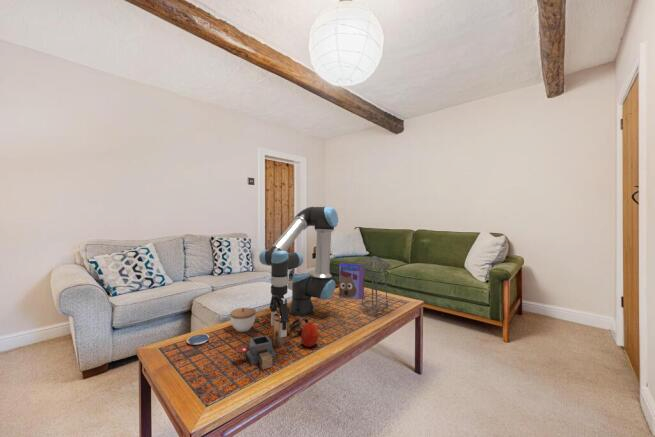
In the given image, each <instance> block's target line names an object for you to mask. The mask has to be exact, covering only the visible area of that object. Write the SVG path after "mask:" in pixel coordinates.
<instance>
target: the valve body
mask: <svg viewBox="0 0 655 437" xmlns="http://www.w3.org/2000/svg"><path fill="white" fill-rule="evenodd" d="M236 353H238V354H245V353H246V357H247V359H248V361H249V362H250V365H251V366H255V365H258V364H259V366H260V368H261V370H262V371H264V370H266V369H271V368H273V361H275V360H276V359H277V357H276V355H277V353H276V350H275V349H274V347H273V341H272V340H271V338H270V336H268V334H265V335H262V336H261V335H259V336H256V337H251V338H249V345H247V344H243V345H239V346H237V347H236Z"/></svg>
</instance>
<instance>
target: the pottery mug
mask: <svg viewBox="0 0 655 437" xmlns="http://www.w3.org/2000/svg"><path fill="white" fill-rule="evenodd" d="M308 322H309V319H308V317H303V318H296V319H294V320H293V321H292V322H291V323H290V324H289V326H288V328H289V332H290V333H291V332H294V333H296V329H298V330H302V328H303V327H304V325H305V324H306V323H308Z"/></svg>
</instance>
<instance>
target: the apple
mask: <svg viewBox="0 0 655 437" xmlns="http://www.w3.org/2000/svg"><path fill="white" fill-rule="evenodd" d="M319 334H320V333H319V331H318V328H317V326H316V324H315V323H313V322H309V321H308V323H306V324H305V325H304V327H303V326H302V328H301V334H300V337H301V342H302V345H304V346H305V347H307V348H310V347H313V346H315V344H316V343H317V341H318V340H319V336H320V335H319Z"/></svg>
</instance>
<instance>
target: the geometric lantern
mask: <svg viewBox="0 0 655 437" xmlns="http://www.w3.org/2000/svg"><path fill="white" fill-rule="evenodd" d="M362 265H364V266H362ZM358 266H359V267H360V268H361V267H363V268H364V270H363V269H362V268H361V269H362V270H363V271H364V276H363V290H362V299H361V306H363V307H364V308H365V309H366V310H365V312H366V313H367V314H370V315H373V316H379V315H383V314H385V309H386V308H387V309H388V307H389V303H388V289H387V276H386V273H385V271H387V270H388V269H389V268H390V267H391V266H392V264H390V263H388V262H387V261H385V260H384V259H382V258H380V257H379V256H376V255H374V256H371V257H369V258H367V259H366V260H363V261H362V262H360V263H359V265H358ZM371 266H372V267H371ZM374 269H375V270H377V273H376V274H374V273H373V272H372V270H374ZM370 272H371V273H370ZM366 273H368V275H366ZM382 273H383V275H384V276H382V275H380V274H382ZM365 275H366V276H365ZM368 277H370V278H368ZM378 277H381V278H379V279H378ZM365 279H367V280H370V281H371V300H369V301H366V302H364V299H363V293H364V294H365ZM381 280H384V286H385V300H386V303H385V302H382V301H379V300H378V281H381ZM374 287H375V288H374ZM374 292H375V299H374ZM374 302H375V304H374ZM368 303H371V306H367V305H365V304H368ZM378 303H380V304H382V305H385V306H381V307H380V306H378ZM370 311H371V312H370ZM381 311H382V312H381ZM372 312H373V313H372ZM379 312H381V313H379Z"/></svg>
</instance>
